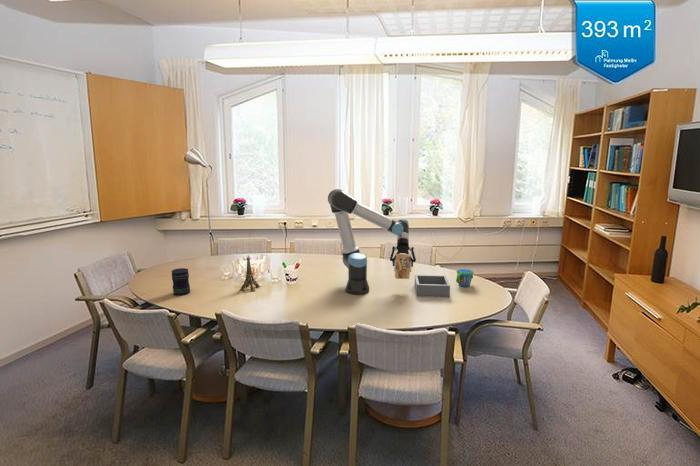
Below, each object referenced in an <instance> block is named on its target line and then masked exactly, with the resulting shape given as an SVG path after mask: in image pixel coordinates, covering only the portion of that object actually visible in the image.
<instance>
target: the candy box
mask: <svg viewBox="0 0 700 466" xmlns="http://www.w3.org/2000/svg"><path fill="white" fill-rule="evenodd" d="M395 255H396V271H394V277H395V279H396V280H399V279H400V280H401V279H402V280H410V276H411V275H410V274H411V272H410V258H411V257H412V255H411V254H410V253H409V254H406V253H400V254H396V253H395Z"/></svg>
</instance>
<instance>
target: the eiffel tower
mask: <svg viewBox="0 0 700 466" xmlns="http://www.w3.org/2000/svg"><path fill="white" fill-rule="evenodd" d="M250 260H251V257H249V256H247V257H246V272H245V275H244V276H245V279H244V283H243V284H242V285H241V286H240V289H239V290H238V292H243V291H245V288H248V287H250V290H249V291H250V293H255V292H256V289H260V288H261V287H262V286H261V285H260V284H259V283H258V282H257V281H256V279H255V278H254V276H253V275H254V273H253V272H252V266H251V261H250ZM254 286H255V287H254Z"/></svg>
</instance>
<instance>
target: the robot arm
mask: <svg viewBox="0 0 700 466" xmlns="http://www.w3.org/2000/svg"><path fill="white" fill-rule="evenodd" d="M327 202H328V204H329V206H330V210H331V213H332V214H334V217H335V222H336V225H337V228H338V232H339V237H340V241H341V245H342V249H341V255H342V263H343V265H344V266H346V268H347V270H348V274H347V275H348V280H347V283H346V285H345V293H347V294H349V295H355V296H358V295H367V294H368V293H369V292H370V285H369V282H368V280H367V279H368V276H367V275H368V273H367V272H368V271H367V270H368V259H367V256H366V255H365V254H363V253H361V251H360V248H359V246H358V245H356V242H355V236H354V232H353V228H352V224H351V219H350V216H349V215H352V214H353V215H355V216H358V217H359V218H361V219H363V220H366V221H368V222H370V223H371V224H373V225H376V226H378V227H380V228H381V229H383V230H385V231H387V232H390V233H391V234H393V235H395V236H397V237H396V240H397V241H396V246H394V245H393V246H392V250H391V254H390V257H389V261H390V262H392V267H394V269H393V270H394V271H393V272H395V271H396V254H410V253H411V258H410V273H411V272H412V268H413V267H414V263H416V262H417V261H416V260H417V258H416V256H415V255H416V254H415V252H414V247H413V246H411V247H410V245H409V243H410V242H409V239H410V235H409V230H410V229H409V228H410V225H409V224H410V223H409V221H408V219H405V218H400V219H398V220H395V219H393V218H390V217H388V216H386V215H384V214H382V213H381V212H378V211H376V210H375V209H372V208H370V207H368V206H366V205H364V204H362V203H360V202H358V200H357V199H356V198H354V197H352V196H351V195H349V194H348V193H347V192H345V191H344V190H342V189H340V188H339V189H338V188H336V189H332V190H331V191H330V192H329V194H328V195H327ZM395 251H397V252H396V253H395ZM409 251H410V252H409ZM394 254H395V255H394Z"/></svg>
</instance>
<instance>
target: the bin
mask: <svg viewBox="0 0 700 466" xmlns="http://www.w3.org/2000/svg"><path fill="white" fill-rule="evenodd" d="M413 285H414V290H415V296H416V297H422V298H423V297H428V298H431V297H432V298H450V296H451V284H450V282H449V280H448V278H447V276H446V275H435V274H432V275H431V274H414V284H413Z"/></svg>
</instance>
